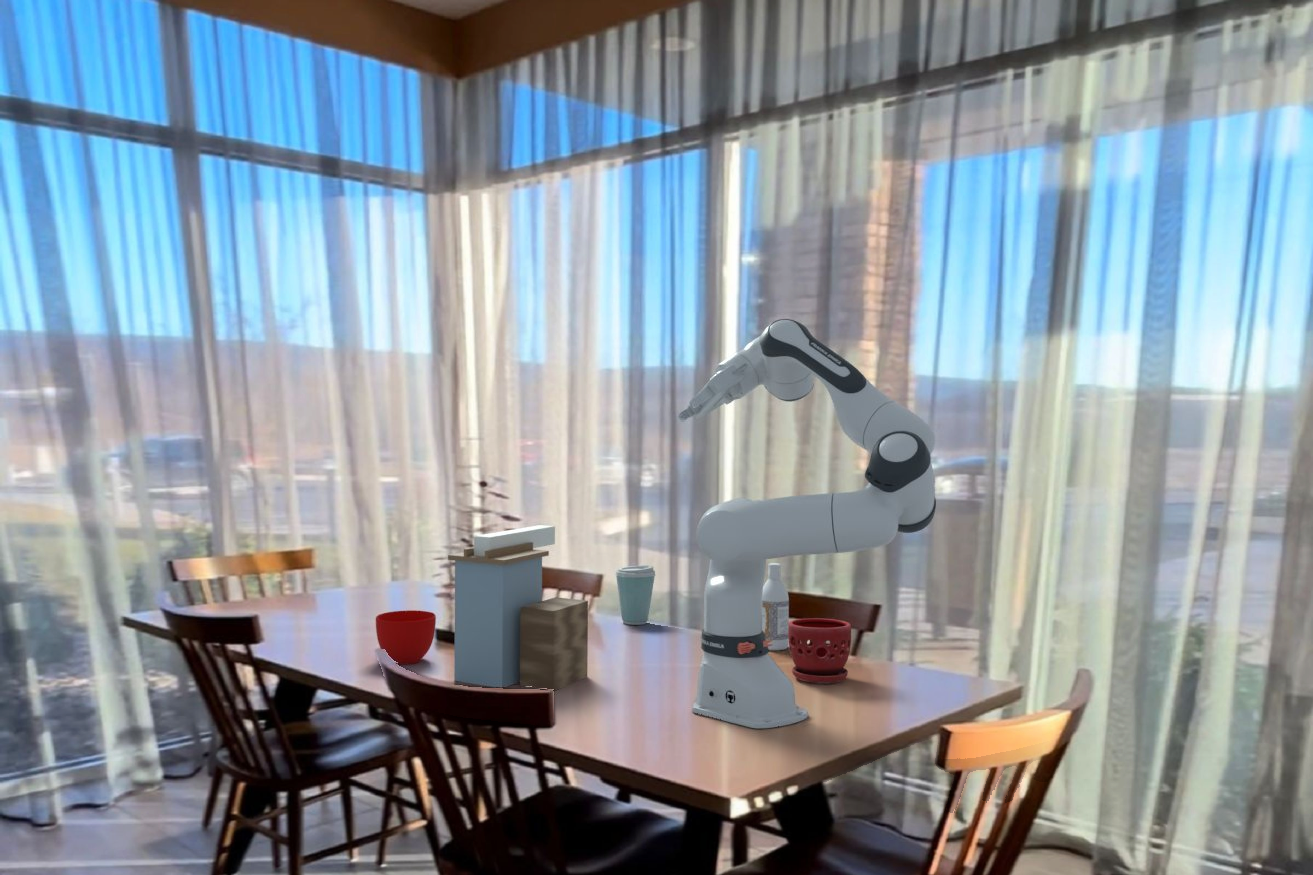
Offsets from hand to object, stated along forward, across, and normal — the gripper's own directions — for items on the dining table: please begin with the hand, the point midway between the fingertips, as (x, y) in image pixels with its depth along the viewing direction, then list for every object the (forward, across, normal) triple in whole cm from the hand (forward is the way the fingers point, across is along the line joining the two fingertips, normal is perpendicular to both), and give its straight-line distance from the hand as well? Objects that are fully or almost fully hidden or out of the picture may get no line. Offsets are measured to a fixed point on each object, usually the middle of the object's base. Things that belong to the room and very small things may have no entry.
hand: (686, 411), depth 215 cm
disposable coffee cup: (+20, +69, -32) cm, 78 cm away
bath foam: (+4, +36, -55) cm, 66 cm away
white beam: (+43, +19, -2) cm, 47 cm away
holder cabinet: (+61, +22, -21) cm, 68 cm away
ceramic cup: (+74, +41, -5) cm, 85 cm away
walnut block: (+53, +17, -28) cm, 62 cm away
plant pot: (+9, +8, -62) cm, 63 cm away
